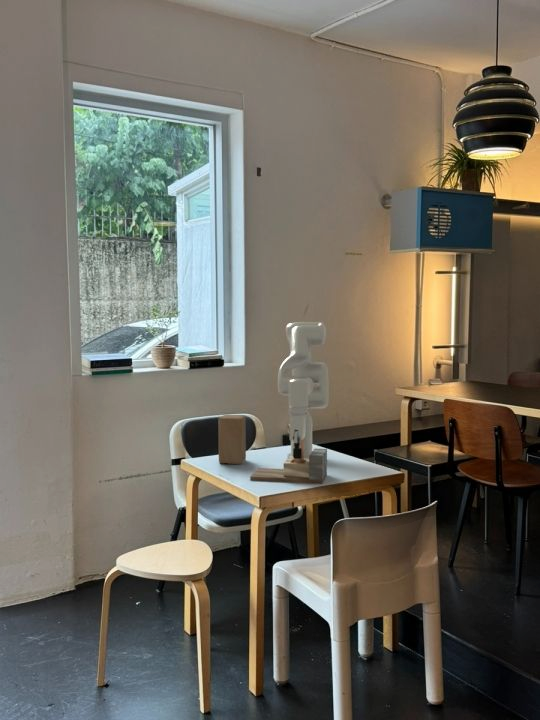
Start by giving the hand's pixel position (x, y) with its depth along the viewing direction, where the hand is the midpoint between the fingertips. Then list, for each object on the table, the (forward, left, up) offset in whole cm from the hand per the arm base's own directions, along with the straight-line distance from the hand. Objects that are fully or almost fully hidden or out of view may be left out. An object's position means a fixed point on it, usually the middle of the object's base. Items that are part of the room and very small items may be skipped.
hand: (298, 456), depth 270 cm
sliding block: (0, 0, -7) cm, 7 cm away
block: (-22, -33, -9) cm, 40 cm away
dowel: (0, 0, -5) cm, 5 cm away
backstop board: (0, -4, -8) cm, 9 cm away
